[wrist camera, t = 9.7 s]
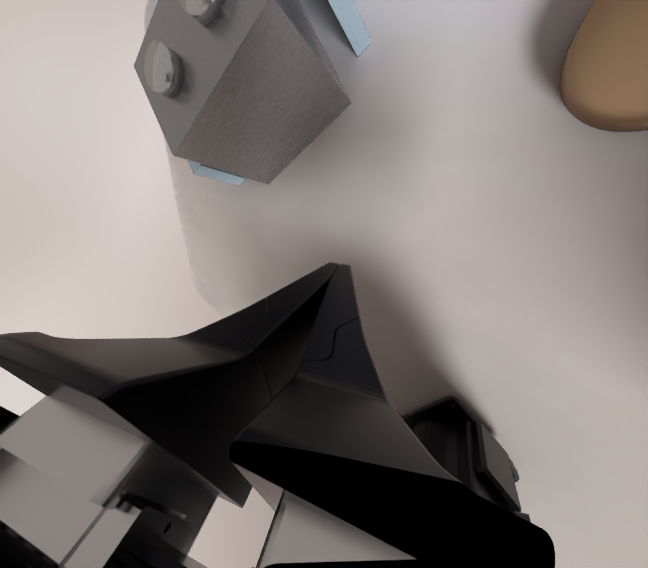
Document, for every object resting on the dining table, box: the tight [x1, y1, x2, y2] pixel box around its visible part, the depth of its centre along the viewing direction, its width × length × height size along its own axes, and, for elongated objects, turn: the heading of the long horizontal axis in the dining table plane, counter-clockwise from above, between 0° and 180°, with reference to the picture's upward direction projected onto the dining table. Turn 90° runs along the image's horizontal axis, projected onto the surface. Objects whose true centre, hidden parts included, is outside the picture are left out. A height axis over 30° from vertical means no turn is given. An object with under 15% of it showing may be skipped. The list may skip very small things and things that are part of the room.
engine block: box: [134, 0, 351, 184], centre depth 16 cm, size 13×10×10 cm
